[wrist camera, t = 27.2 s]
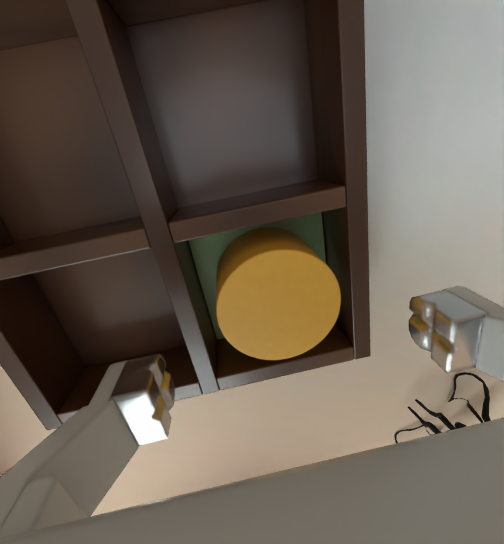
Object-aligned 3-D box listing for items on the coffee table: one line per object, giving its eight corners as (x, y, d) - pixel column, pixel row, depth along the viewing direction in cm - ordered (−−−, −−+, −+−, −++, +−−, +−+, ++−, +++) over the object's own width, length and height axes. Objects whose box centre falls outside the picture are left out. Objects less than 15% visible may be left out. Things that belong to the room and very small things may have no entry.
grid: (292, -399, 7) (350, -830, 4) (340, 317, 16) (370, 356, 13) (-311, -311, 7) (-772, -718, 4) (81, 375, 16) (46, 431, 13)
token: (309, 216, 13) (337, 235, 10) (318, 306, 15) (344, 346, 12) (205, 239, 13) (201, 265, 10) (228, 326, 15) (231, 371, 12)
